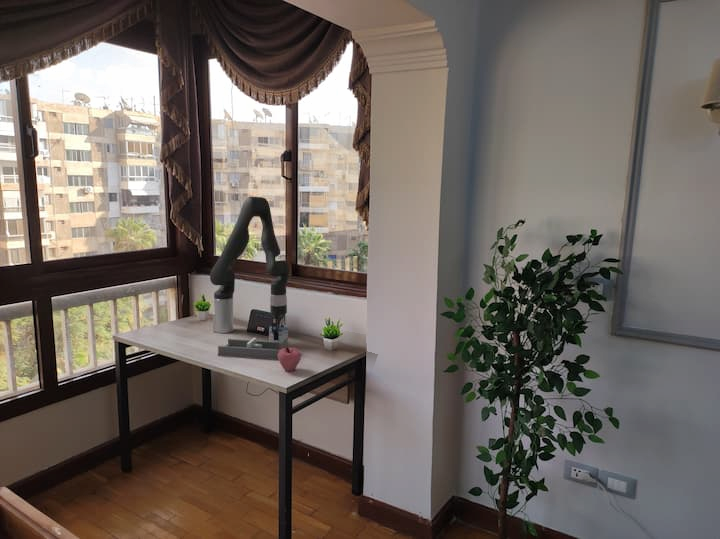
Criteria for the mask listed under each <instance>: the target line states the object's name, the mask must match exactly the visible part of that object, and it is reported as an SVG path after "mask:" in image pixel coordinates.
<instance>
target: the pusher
mask: <svg viewBox="0 0 720 539" xmlns="http://www.w3.org/2000/svg"><path fill="white" fill-rule="evenodd" d="M250 340H251V341H249V342H248V343H247V348H262V344H257V341H258V340H257V337H253V338H252V339H250Z"/></svg>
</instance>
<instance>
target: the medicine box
mask: <svg viewBox="0 0 720 539" xmlns="http://www.w3.org/2000/svg"><path fill="white" fill-rule="evenodd" d="M275 329H276V328H275ZM268 330H269V331H268V332H269V333H268V341H272V342H280V341H281V340H282V339H283V338H284V337H288V338H289V328H288V327H286V326H284V327H280V328H279V340H274V332H272V325H271V326H269V327H268Z"/></svg>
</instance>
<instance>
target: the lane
mask: <svg viewBox="0 0 720 539" xmlns="http://www.w3.org/2000/svg"><path fill="white" fill-rule="evenodd" d="M251 340H252V339H241V338H239V339H238V338H228V339H227V344H226V345H219V346H218V347H217V350H218V351H217V356H219V357H220V356H221V357H230V358H231V357H232V358H233V357H234V358H244V357H249V358H248V359H259V358H262V359H263V360H274V359H276V361H277V360H278V353H279V351H280V350H281V349H283V348H289V336H288V337H284V338H283V339H282V340H281V341H280V342H272V341H269V340H268V341H267V340H256V341H257V344H262V348H247V343H248V342H249V341H251ZM278 361H279V360H278Z"/></svg>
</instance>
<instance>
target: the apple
mask: <svg viewBox="0 0 720 539" xmlns="http://www.w3.org/2000/svg"><path fill="white" fill-rule="evenodd" d="M301 359H302V356H301V352H300V350H298V349H297V348H296V347H289V346H288V348H283V349H281V350H280V351H279V353H278V361H279V364H280V365H281V367H282V368H283V369H284V371H287V372H293V371H295V370H296V369H297V367H298V365H299V364H300V361H301Z"/></svg>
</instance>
